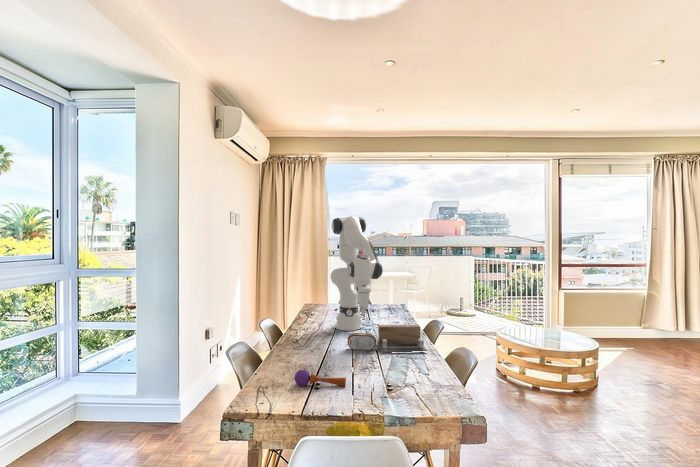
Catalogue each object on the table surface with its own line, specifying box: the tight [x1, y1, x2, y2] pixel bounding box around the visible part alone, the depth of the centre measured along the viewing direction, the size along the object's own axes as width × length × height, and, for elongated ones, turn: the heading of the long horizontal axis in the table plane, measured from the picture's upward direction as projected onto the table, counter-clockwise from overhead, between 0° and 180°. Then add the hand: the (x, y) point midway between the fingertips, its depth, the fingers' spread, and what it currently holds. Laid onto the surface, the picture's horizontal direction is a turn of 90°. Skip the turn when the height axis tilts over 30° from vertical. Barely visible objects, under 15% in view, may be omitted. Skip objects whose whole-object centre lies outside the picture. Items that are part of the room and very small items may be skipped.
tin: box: [347, 332, 378, 351], centre depth 179 cm, size 15×3×8 cm, turn 84°
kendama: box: [294, 369, 347, 387], centre depth 135 cm, size 6×6×20 cm
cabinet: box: [376, 324, 428, 354], centre depth 182 cm, size 16×23×10 cm
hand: (362, 313), depth 180 cm, fingers open, 8 cm apart
